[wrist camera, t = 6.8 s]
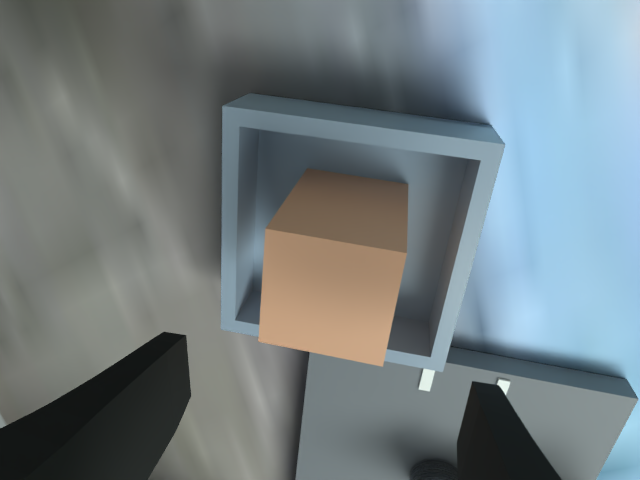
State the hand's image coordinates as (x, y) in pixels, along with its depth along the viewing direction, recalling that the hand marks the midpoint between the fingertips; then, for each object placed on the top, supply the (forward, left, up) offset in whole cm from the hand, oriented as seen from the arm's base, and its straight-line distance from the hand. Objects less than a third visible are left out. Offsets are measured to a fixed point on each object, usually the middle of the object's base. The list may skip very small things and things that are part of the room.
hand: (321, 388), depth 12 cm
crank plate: (+6, -12, -9) cm, 16 cm away
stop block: (0, +1, -9) cm, 9 cm away
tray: (0, +1, -9) cm, 9 cm away
